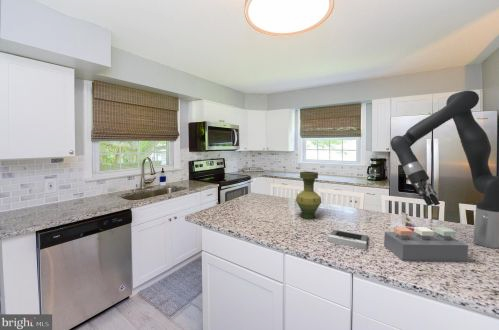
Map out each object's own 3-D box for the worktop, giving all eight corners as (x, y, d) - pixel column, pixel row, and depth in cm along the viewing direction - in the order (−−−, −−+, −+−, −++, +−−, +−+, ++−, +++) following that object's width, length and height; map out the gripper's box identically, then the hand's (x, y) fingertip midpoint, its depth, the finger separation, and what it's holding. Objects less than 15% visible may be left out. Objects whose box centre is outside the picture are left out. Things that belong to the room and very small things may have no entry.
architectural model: (407, 224, 139) (408, 212, 138) (412, 228, 132) (413, 215, 132) (401, 223, 140) (402, 212, 139) (406, 227, 133) (406, 215, 133)
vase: (290, 217, 153) (291, 172, 150) (304, 212, 163) (305, 170, 161) (312, 223, 141) (313, 175, 138) (325, 217, 151) (326, 172, 149)
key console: (440, 246, 108) (441, 232, 107) (466, 261, 94) (468, 245, 94) (383, 245, 109) (384, 231, 108) (402, 260, 95) (403, 244, 95)
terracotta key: (404, 238, 104) (405, 226, 103) (411, 243, 99) (412, 231, 98) (393, 238, 104) (393, 226, 104) (400, 243, 99) (400, 231, 99)
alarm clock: (327, 236, 114) (334, 223, 127) (327, 244, 114) (334, 231, 128) (366, 243, 105) (368, 229, 119) (366, 253, 106) (368, 237, 120)
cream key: (424, 238, 104) (425, 227, 103) (433, 243, 99) (434, 231, 98) (413, 238, 104) (414, 227, 103) (421, 243, 99) (422, 231, 98)
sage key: (445, 239, 103) (446, 227, 103) (454, 243, 98) (455, 231, 98) (433, 239, 103) (434, 227, 103) (442, 243, 98) (443, 231, 98)
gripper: (417, 168, 103) (437, 202, 96) (429, 170, 111) (448, 201, 104) (401, 175, 109) (419, 208, 102) (413, 177, 117) (430, 207, 110)
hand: (434, 204), depth 103 cm, fingers open, 8 cm apart
